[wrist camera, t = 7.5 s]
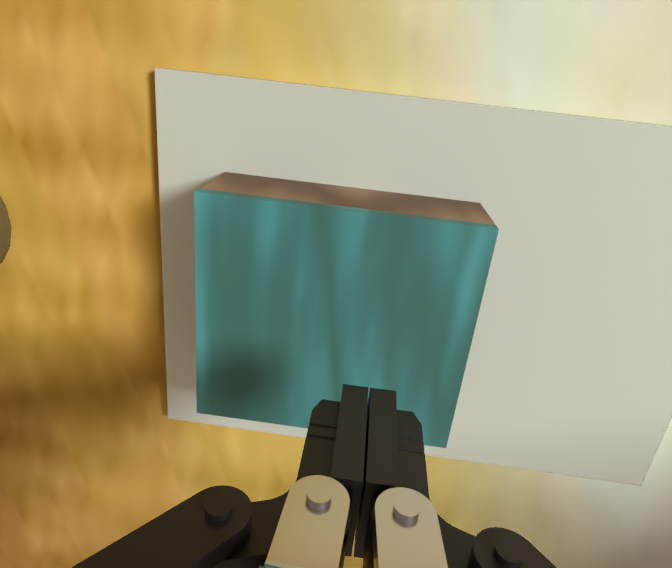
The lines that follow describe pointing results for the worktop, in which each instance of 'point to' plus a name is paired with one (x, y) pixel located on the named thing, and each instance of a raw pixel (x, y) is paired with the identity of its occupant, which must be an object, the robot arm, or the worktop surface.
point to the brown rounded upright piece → (4, 231)
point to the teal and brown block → (334, 297)
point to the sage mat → (506, 265)
